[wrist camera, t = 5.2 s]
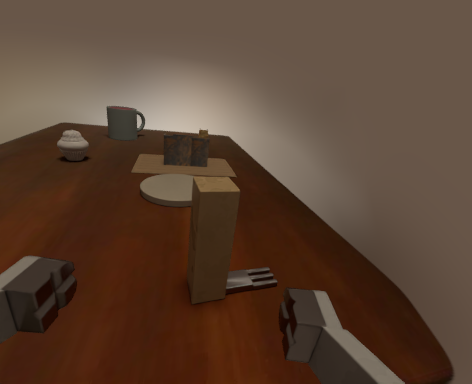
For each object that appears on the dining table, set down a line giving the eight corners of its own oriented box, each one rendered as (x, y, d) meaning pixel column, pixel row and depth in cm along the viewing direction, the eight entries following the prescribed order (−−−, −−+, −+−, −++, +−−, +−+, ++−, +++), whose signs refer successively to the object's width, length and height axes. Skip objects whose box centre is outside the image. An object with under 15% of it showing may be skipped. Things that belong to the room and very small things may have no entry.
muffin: (61, 163, 53) (56, 132, 50) (57, 156, 57) (52, 126, 54) (93, 161, 57) (90, 132, 54) (87, 155, 61) (84, 127, 58)
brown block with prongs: (191, 304, 23) (200, 191, 18) (186, 279, 26) (192, 176, 21) (278, 288, 26) (304, 190, 22) (265, 268, 29) (285, 177, 25)
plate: (220, 205, 44) (221, 199, 43) (139, 208, 39) (138, 201, 38) (204, 178, 56) (205, 174, 55) (141, 178, 51) (140, 173, 50)
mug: (119, 141, 78) (117, 109, 74) (103, 135, 83) (100, 105, 79) (153, 138, 89) (152, 110, 85) (137, 133, 94) (136, 107, 90)
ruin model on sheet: (224, 159, 75) (228, 127, 71) (237, 176, 60) (242, 138, 56) (140, 153, 68) (139, 119, 64) (131, 172, 53) (129, 128, 50)
